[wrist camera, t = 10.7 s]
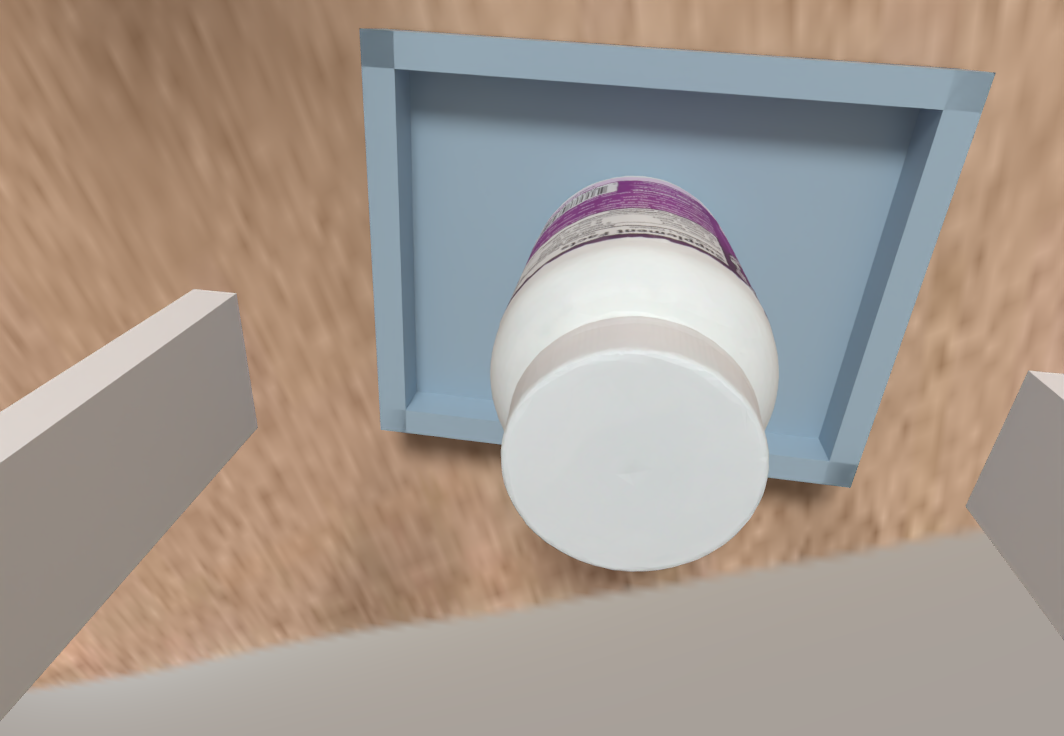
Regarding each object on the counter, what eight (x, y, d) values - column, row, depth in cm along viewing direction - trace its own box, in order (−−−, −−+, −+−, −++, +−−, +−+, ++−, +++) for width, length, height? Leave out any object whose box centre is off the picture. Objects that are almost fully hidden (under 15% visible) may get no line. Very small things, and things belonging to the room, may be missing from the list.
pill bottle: (710, 364, 19) (777, 630, 11) (529, 347, 20) (456, 588, 11) (746, 175, 17) (869, 324, 8) (538, 162, 17) (452, 289, 9)
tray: (398, 400, 22) (380, 429, 20) (384, 28, 17) (359, 28, 15) (833, 452, 21) (850, 487, 19) (958, 68, 16) (995, 72, 14)
